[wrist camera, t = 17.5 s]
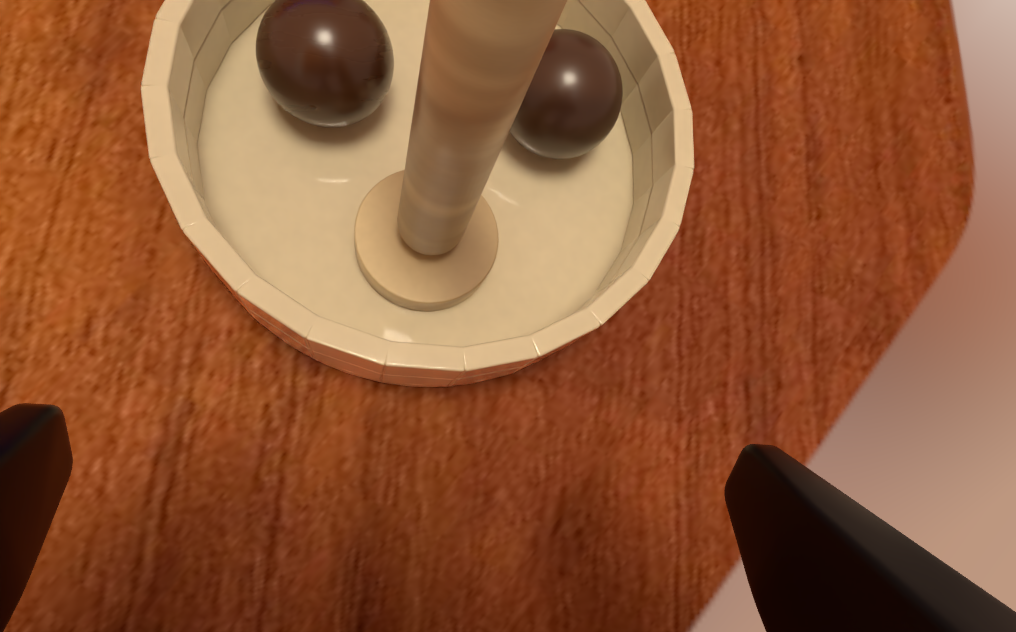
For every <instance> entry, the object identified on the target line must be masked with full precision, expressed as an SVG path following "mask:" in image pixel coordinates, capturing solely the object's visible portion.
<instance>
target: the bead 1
mask: <svg viewBox="0 0 1016 632" xmlns="http://www.w3.org/2000/svg"><path fill="white" fill-rule="evenodd" d="M255 49H256V60H257V65H258V69H259V72H260V75H261V78H262V80H263V82H264V84H265V86H266V88H267V89H268V91H269V93H270V94H271V96H272V97H273V98H274V99H275V101H276V102H277V103H278V104H279V105H280V106H281V107H282V108H283V109H284V110H286V111H287V112H288V113H290V114H291V115H292V116H294V117H296V118H297V119H299V120H301V121H304V122H306V123H308V124H312V125H315V126H319V127H327V128H338V127H344V126H349V125H352V124H355V123H357V122H359V121H361V120H363V119H365V118H366V117H368V116H369V115H370V114H372V113H373V112H374V111H375V110H376V109H377V108H378V107H379V105H380V104H381V103H382V102H383V100H384V98H385V96H386V95H387V93H388V90H389V88H390V86H391V82H392V78H393V72H394V55H393V48H392V44H391V40H390V37H389V35H388V32H387V30H386V28H385V26H384V24H383V22H382V21H381V19H380V18H379V16H378V15H377V14H376V13H375V11H374V10H373V9H372V8H371V7H370V6H369V5H368V4H367V3H366V2H365V1H363V0H275V1H274V2H273V3H272V4H271V5H270V7H269V8H268V10H267V11H266V12H265V14H264V16H263V18H262V20H261V22H260V25H259V28H258V32H257V37H256V48H255Z"/></svg>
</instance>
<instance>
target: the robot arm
mask: <svg viewBox="0 0 1016 632" xmlns="http://www.w3.org/2000/svg"><path fill="white" fill-rule="evenodd" d="M72 464H73V458H72V451H71V447H70V442H69V437H68V432H67V427H66V423H65V418H64V415H63V412H62V410H61V409H60V408H59V407H57V406H55V405H47V404H29V403H23V404H17V405H14V406H12V407H10V408H8V409H6V410H4V411H2V412H0V632H3V631H4V629H5V627H6V625H7V624H8V622H9V620H10V618H11V616H12V614H13V612H14V610H15V608H16V606H17V604H18V602H19V600H20V598H21V596H22V594H23V591H24V589H25V587H26V585H27V582H28V580H29V578H30V575H31V573H32V570H33V568H34V565H35V563H36V560H37V558H38V555H39V553H40V550H41V548H42V545H43V543H44V540H45V538H46V535H47V533H48V530H49V528H50V525H51V523H52V520H53V518H54V515H55V513H56V510H57V508H58V505H59V502H60V500H61V497H62V495H63V492H64V490H65V487H66V485H67V482H68V480H69V477H70V474H71V470H72ZM725 501H726V505H727V508H728V512H729V515H730V519H731V522H732V526H733V530H734V533H735V537H736V540H737V544H738V547H739V551H740V554H741V558H742V561H743V565H744V568H745V572H746V575H747V579H748V582H749V585H750V588H751V592H752V594H753V598H754V600H755V603H756V606H757V609H758V612H759V614H760V617H761V619H762V622H763V624H764V627H765V629H766V632H1016V612H1015V611H1013V610H1012V609H1011V608H1009V607H1008V606H1006V605H1005V604H1003V603H1002V602H1000V601H999V600H997V599H996V598H994V597H993V596H992V595H990V594H989V593H987V592H986V591H984V590H983V589H982V588H980V587H979V586H977V585H976V584H974V583H973V582H971V581H970V580H968V579H967V578H966V577H964V576H963V575H961V574H960V573H958V572H957V571H955V570H954V569H953V568H951V567H950V566H948V565H947V564H945V563H944V562H943V561H941V560H939V559H938V558H937V557H935V556H934V555H932V554H931V553H930V552H928V551H927V550H925V549H924V548H922V547H921V546H919V545H918V544H916V543H915V542H914V541H912V540H911V539H909V538H908V537H906V536H905V535H903V534H902V533H901V532H899V531H898V530H896V529H895V528H893V527H892V526H890V525H889V524H887V523H886V522H885V521H883V520H882V519H880V518H879V517H877V516H876V515H875V514H873V513H872V512H870V511H869V510H867V509H866V508H864V507H863V506H861V505H860V504H859V503H857V502H856V501H854V500H853V499H851V498H850V497H849V496H847V495H846V494H844V493H843V492H841V491H840V490H838V489H837V488H836V487H834V486H833V485H831V484H830V483H828V482H827V481H825V480H824V479H823V478H821V477H820V476H818V475H817V474H815V473H814V472H812V471H811V470H810V469H808V468H807V467H805V466H804V465H802V464H801V463H799V462H798V461H797V460H795V459H794V458H792V457H791V456H789V455H788V454H786V453H785V452H783V451H782V450H781V449H779V448H777V447H775V446H772V445H760V444H750V445H747V446H746V447H745V448H743V450H742V451H741V453H740V455H739V457H738V459H737V461H736V463H735V466H734V468H733V470H732V472H731V474H730V476H729V478H728V480H727V482H726V485H725Z"/></svg>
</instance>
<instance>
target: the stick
mask: <svg viewBox="0 0 1016 632" xmlns="http://www.w3.org/2000/svg"><path fill="white" fill-rule="evenodd" d="M566 2H567V0H430V3H429V9H428V16H427V23H426V29H425V36H424V43H423V50H422V56H421V63H420V70H419V76H418V83H417V90H416V96H415V103H414V110H413V116H412V123H411V130H410V136H409V143H408V150H407V157H406V163H405V170H402V171H399V172H396V173H394V174H391V175H389V176H387V177H386V178H384V179H383V180H381V181H380V182H378V183H377V184H376V185H375V186H374V187H373V188H372V189H371V190H370V191H369V192H368V193H367V195H366V196H365V198H364V199H363V201H362V203H361V205H360V207H359V209H358V212H357V215H356V220H355V226H354V246H355V254H356V258H357V262H358V265H359V267H360V270H361V272H362V274H363V275H364V277H365V279H366V280H367V282H368V283H369V284H370V285H371V287H372V288H373V289H374V290H375V291H376V292H377V293H378V294H380V295H381V296H382V297H384V298H385V299H387V300H388V301H390V302H392V303H393V304H396V305H398V306H401V307H403V308H407V309H410V310H416V311H438V310H443V309H447V308H450V307H453V306H455V305H457V304H459V303H461V302H463V301H464V300H466V299H467V298H469V297H470V296H471V295H472V294H473V293H474V292H475V291H476V290H477V289H478V288H479V287H480V285H481V284H482V283H483V281H484V280H485V278H486V277H487V275H488V274H489V272H490V270H491V268H492V267H493V264H494V262H495V259H496V255H497V251H498V243H499V237H498V228H497V223H496V220H495V216H494V214H493V212H492V210H491V208H490V206H489V204H488V203H487V201H486V200H485V198H484V197H483V196H482V195H481V194H482V192H483V190H484V187H485V185H486V183H487V181H488V178H489V176H490V174H491V172H492V169H493V167H494V165H495V163H496V160H497V158H498V156H499V154H500V151H501V149H502V147H503V144H504V142H505V140H506V138H507V135H508V133H509V131H510V129H511V126H512V124H513V122H514V120H515V117H516V115H517V113H518V111H519V108H520V106H521V104H522V102H523V99H524V97H525V95H526V93H527V90H528V88H529V86H530V84H531V81H532V79H533V77H534V74H535V72H536V70H537V68H538V65H539V63H540V61H541V59H542V56H543V54H544V52H545V50H546V47H547V45H548V43H549V41H550V38H551V36H552V34H553V32H554V29H555V27H556V25H557V23H558V20H559V18H560V16H561V14H562V11H563V9H564V7H565V4H566Z"/></svg>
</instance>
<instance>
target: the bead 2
mask: <svg viewBox="0 0 1016 632" xmlns="http://www.w3.org/2000/svg"><path fill="white" fill-rule="evenodd" d="M622 97H623V87H622V80H621V75H620V72H619V69H618V66H617V64H616V62H615V60H614V58H613V57H612V55H611V54H610V52H609V51H608V50H607V49H606V48H605V47H604V46H603V45H602V44H601V43H600V42H599V41H598V40H596V39H595V38H593V37H591V36H590V35H588V34H585V33H583V32H580V31H576V30H571V29H554V32H553V34H552V36H551V38H550V41H549V43H548V45H547V47H546V50H545V52H544V54H543V56H542V59H541V61H540V63H539V65H538V68H537V70H536V72H535V74H534V77H533V79H532V81H531V84H530V86H529V88H528V90H527V93H526V95H525V97H524V99H523V102H522V104H521V106H520V108H519V111H518V113H517V115H516V117H515V120H514V122H513V124H512V126H511V129H510V131H509V132H510V133H511V135H512V136H513V137H514V138H515V140H516V141H517V142H518V143H519V144H520V145H522V146H523V147H524V148H525V149H527V150H528V151H530V152H532V153H534V154H536V155H538V156H541V157H545V158H549V159H570V158H574V157H578V156H580V155H583V154H585V153H587V152H589V151H591V150H592V149H594V148H595V147H596V146H598V145H599V144H600V143H601V142H602V141H603V140H604V139H605V138H606V137H607V136H608V134H609V133H610V132H611V130H612V128H613V127H614V125H615V123H616V121H617V119H618V116H619V113H620V110H621V105H622Z"/></svg>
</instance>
